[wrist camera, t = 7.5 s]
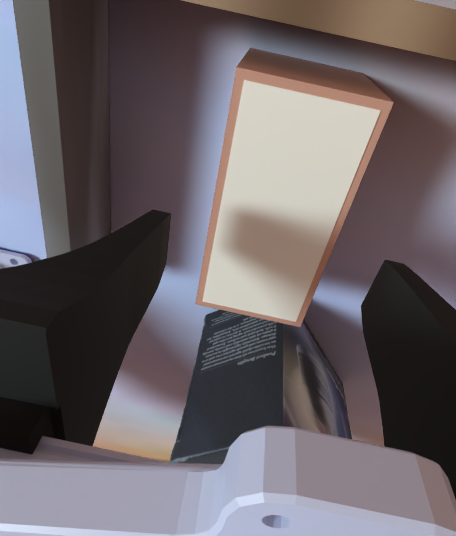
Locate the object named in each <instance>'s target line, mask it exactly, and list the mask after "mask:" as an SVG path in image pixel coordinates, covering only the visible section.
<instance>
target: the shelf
mask: <svg viewBox="0 0 456 536" xmlns="http://www.w3.org/2000/svg"><path fill="white" fill-rule="evenodd" d="M182 1H186V2H191V3H195V4H200V5H204V6H209V7H213V8H218V9H222V10H227V11H231V12H236V13H240V14H245V15H250V16H254V17H259V18H263V19H268V20H272V21H277V22H281V23H286V24H290V25H295V26H299V27H304V28H308V29H313V30H318V31H322V32H327V33H331V34H336V35H340V36H345V37H349V38H354V39H358V40H363V41H367V42H372V43H376V44H381V45H386V46H390V47H395V48H399V49H404V50H408V51H413V52H417V53H422V54H426V55H431V56H435V57H440V58H444V59H449V60H454V61H456V10H454V9H450V8H445V7H441V6H436V5H432V4H427V3H423V2H418V1H414V0H182ZM13 6H14V14H15V21H16V29H17V36H18V44H19V51H20V59H21V66H22V74H23V81H24V89H25V96H26V103H27V111H28V118H29V126H30V133H31V141H32V148H33V156H34V163H35V171H36V178H37V186H38V193H39V201H40V208H41V216H42V223H43V231H44V238H45V246H46V253H47V258H50V257H54V256H57V255H61V254H64V253H67V252H70V251H72V250H75V249H78V248H81V247H83V246H85V245H88V244H90V243H93V242H95V241H97V240H99V239H101V238H103V237H105V236H107V235H109V234H111V213H110V113H109V12H108V0H13Z"/></svg>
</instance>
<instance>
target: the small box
mask: <svg viewBox="0 0 456 536" xmlns="http://www.w3.org/2000/svg"><path fill="white" fill-rule="evenodd" d="M264 426H282V427H295V428H300V429H304V430H309V431H314V432H318V433H323V434H328V435H333V436H337V437H342V438H347V439H351V440H352V437H351V431H350V425H349V419H348V413H347V407H346V401H345V394H344V388H343V384H342V382H341V381H340V379H339V377H338V376H337V374H336V372H335V371H334V369H333V367H332V366H331V364H330V362H329V361H328V359H327V357H326V356H325V354H324V353H323V351H322V349H321V347H320V346H319V344H318V342H317V341H316V339H315V337H314V336H313V334H312V333H311V331H310V329H309V328H308V326H307V324H306V323H305V321H304V319H303V322H302V324H301V327H297V326H293V325H288V324H284V323H279V322H274V321H270V320H265V319H261V318H256V317H252V316H247V315H243V314H238V313H234V312H229V311H224V310H218V311H216V312H213V313H210V314H208V315H206V316H205V319H204V326H203V330H202V335H201V340H200V344H199V348H198V354H197V357H196V361H195V365H194V370H193V374H192V378H191V382H190V386H189V390H188V395H187V399H186V406H185V408H184V413H183V416H182V420H181V424H180V428H179V431H178V434H177V438H176V443H175V445H174V448H173V450H172V454H171V458H170V463H190V464H223V463H224V461H225V458H226V456H227V453H228V450H229V447H230V446H231V445H232V444H233V443H234V441H235V440H236V439H237V438H238V437H239V436H240V435H241V434H243V433H244V432H246V431H250V430H253V429H257V428H261V427H264Z"/></svg>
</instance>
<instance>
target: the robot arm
mask: <svg viewBox="0 0 456 536" xmlns="http://www.w3.org/2000/svg"><path fill="white" fill-rule="evenodd" d="M170 219H171V213H166V212H161V211H157V210H151V211H150V212H148V213H146V214H144V215H143V216H141V217H139V218H138V219H136V220H134V221H133V222H131V223H129V224H128V225H126V226H124V227H122V228H120V229H119V230H117V231H115V232H113V233H111V234H109V235H107V236H105V237H103V238H101V239H99V240H97V241H95V242H93V243H90V244H88V245H85V246H83V247H81V248H78V249H75V250H72V251H70V252H67V253H64V254H61V255H57V256H54V257H50V258H47V259H43V260H39V261H36V262H32V261H31V259H30V258H29V257H28V256H26V255H24V254H19V253H15V252H10V251H5V250H1V249H0V536H456V310H455V309H454V308H453V307H452V306H451V305H450V304H449V303H447V302H446V301H445V300H444V299H443V298H442V297H441V296H440V295H439V294H438V293H436V292H435V291H434V290H433V289H432V288H431V287H430V286H429V285H428V284H427V283H426V282H424V281H423V280H422V279H421V278H420V277H419V276H418V275H417V274H416V273H414V272H413V271H412V270H411V269H410V268H408V267H407V266H406V265H404V264H402V263H398V262H393V261H388V260H385V261H384V263H383V264H382V266H381V268H380V270H379V272H378V274H377V276H376V278H375V280H374V282H373V284H372V286H371V288H370V290H369V291H368V293H367V295H366V297H365V299H364V301H363V303H362V305H361V312H362V325H363V333H364V338H365V342H366V346H367V350H368V354H369V358H370V362H371V366H372V371H373V375H374V379H375V383H376V387H377V391H378V396H379V402H380V409H381V418H382V426H383V435H384V446H385V447H384V446H380V445H375V444H370V443H366V442H361V441H356V440H351V439H347V438H342V437H337V436H333V435H328V434H323V433H318V432H314V431H309V430H304V429H300V428H295V427H282V426H264V427H261V428H257V429H253V430H250V431H246V432H244V433H243V434H241V435H240V436H239V437H238V438H237V439H236V440H235V441H234V443H233V444H232V445H231V446H230V447H229V450H228V453H227V456H226V458H225V461H224V463H223V464H190V463H169V462H164V461H159V460H155V459H150V458H145V457H140V456H136V455H131V454H126V453H121V452H117V451H112V450H107V449H102V448H98V447H93V443H94V440H95V437H96V434H97V431H98V428H99V425H100V422H101V419H102V416H103V413H104V410H105V408H106V405H107V402H108V399H109V396H110V393H111V391H112V388H113V385H114V382H115V380H116V377H117V374H118V371H119V369H120V366H121V364H122V361H123V358H124V356H125V353H126V350H127V348H128V346H129V343H130V341H131V339H132V337H133V335H134V333H135V331H136V329H137V327H138V325H139V323H140V321H141V319H142V317H143V315H144V314H145V312H146V310H147V308H148V306H149V304H150V302H151V300H152V298H153V296H154V294H155V292H156V290H157V288H158V286H159V283H160V280H161V277H162V274H163V271H164V268H165V265H166V259H167V249H168V239H169V229H170ZM14 259H15V260H14ZM16 260H17V261H16Z"/></svg>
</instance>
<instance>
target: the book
mask: <svg viewBox="0 0 456 536" xmlns="http://www.w3.org/2000/svg"><path fill="white" fill-rule="evenodd" d="M393 103H394V102H393V101H392V100H391V99H390V98H389V97H388V96H386V95H385V94H384V93H383V92H382V91H381V90H380V89H379V88H378V87H377V86H376V85H375V84H374V83H373V82H371V81H370V80H369V79H368V78H367V77H366V76H365V75H364V74H363V73H360V72H356V71H351V70H347V69H342V68H338V67H334V66H329V65H325V64H320V63H316V62H311V61H307V60H302V59H298V58H294V57H289V56H285V55H280V54H276V53H271V52H267V51H262V50H258V49H253V48H250V49H249V50H248V52H247V53H246V55H245V56H244V57H243V59H242V60H241V62H240V63H239V64H238V66H237V67H236V73H235V79H234V85H233V91H232V96H231V102H230V108H229V114H228V119H227V125H226V131H225V137H224V142H223V148H222V154H221V160H220V165H219V171H218V177H217V183H216V188H215V194H214V200H213V206H212V211H211V217H210V223H209V229H208V234H207V240H206V246H205V252H204V257H203V263H202V269H201V275H200V280H199V286H198V292H197V298H196V304H197V305H202V306H206V307H211V308H215V309H220V310H224V311H229V312H234V313H238V314H243V315H247V316H252V317H256V318H261V319H265V320H270V321H274V322H279V323H284V324H288V325H293V326H297V327H301V324H302V322H303V319H304V317H305V315H306V312H307V310H308V307H309V305H310V303H311V300H312V298H313V295H314V293H315V291H316V288H317V286H318V283H319V281H320V278H321V276H322V274H323V271H324V269H325V266H326V264H327V262H328V259H329V257H330V254H331V252H332V250H333V247H334V245H335V242H336V240H337V238H338V235H339V233H340V230H341V228H342V226H343V223H344V221H345V218H346V216H347V214H348V211H349V209H350V206H351V204H352V202H353V199H354V197H355V194H356V192H357V190H358V187H359V185H360V182H361V180H362V178H363V175H364V173H365V170H366V168H367V166H368V163H369V161H370V158H371V156H372V154H373V151H374V149H375V146H376V144H377V142H378V139H379V137H380V134H381V132H382V130H383V127H384V125H385V122H386V120H387V118H388V115H389V113H390V110H391V108H392V106H393Z"/></svg>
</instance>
